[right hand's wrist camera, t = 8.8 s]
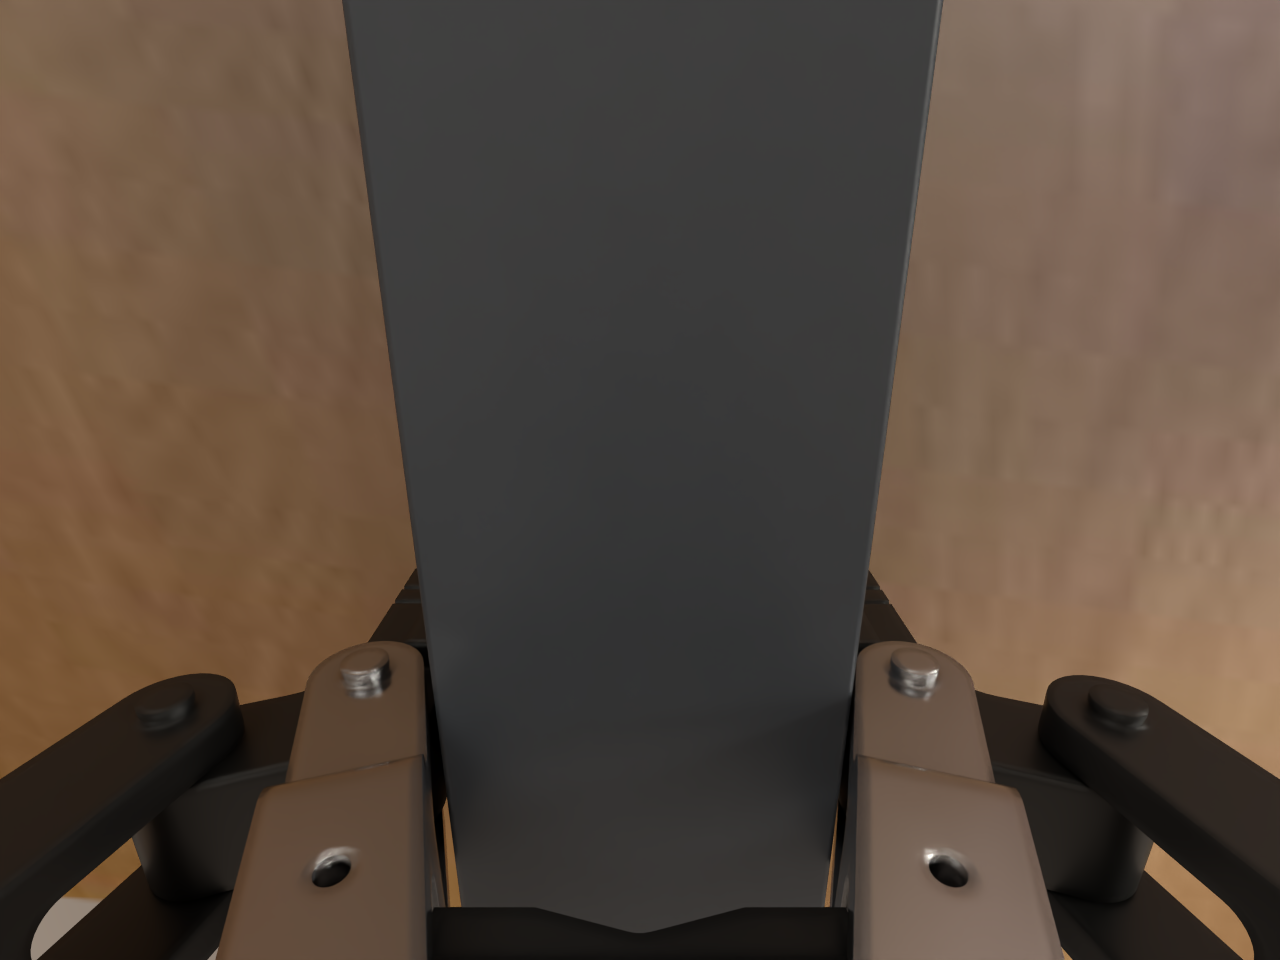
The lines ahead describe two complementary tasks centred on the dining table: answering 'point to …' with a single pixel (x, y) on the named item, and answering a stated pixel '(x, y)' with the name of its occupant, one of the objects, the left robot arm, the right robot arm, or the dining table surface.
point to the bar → (642, 419)
